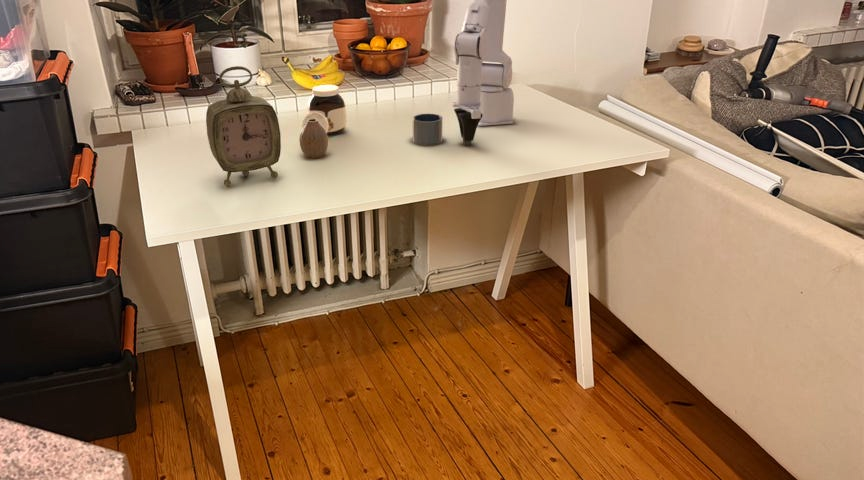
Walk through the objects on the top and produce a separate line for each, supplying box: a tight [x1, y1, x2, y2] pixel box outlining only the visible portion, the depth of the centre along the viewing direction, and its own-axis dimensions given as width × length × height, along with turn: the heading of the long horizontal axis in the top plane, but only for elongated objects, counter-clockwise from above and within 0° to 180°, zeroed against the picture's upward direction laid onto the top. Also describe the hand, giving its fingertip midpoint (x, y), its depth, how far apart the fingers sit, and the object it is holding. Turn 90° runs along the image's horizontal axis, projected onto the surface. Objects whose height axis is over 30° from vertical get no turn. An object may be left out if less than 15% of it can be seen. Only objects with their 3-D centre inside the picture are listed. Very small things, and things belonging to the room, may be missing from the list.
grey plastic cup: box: [412, 113, 444, 147], centre depth 176 cm, size 7×7×6 cm
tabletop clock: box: [205, 65, 282, 188], centre depth 152 cm, size 14×9×25 cm, turn 114°
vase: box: [298, 119, 329, 159], centre depth 168 cm, size 7×7×9 cm
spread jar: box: [301, 84, 347, 137], centre depth 182 cm, size 12×11×12 cm
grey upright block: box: [462, 136, 473, 147], centre depth 173 cm, size 2×2×6 cm
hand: (467, 138), depth 174 cm, fingers closed on grey upright block, 2 cm apart
